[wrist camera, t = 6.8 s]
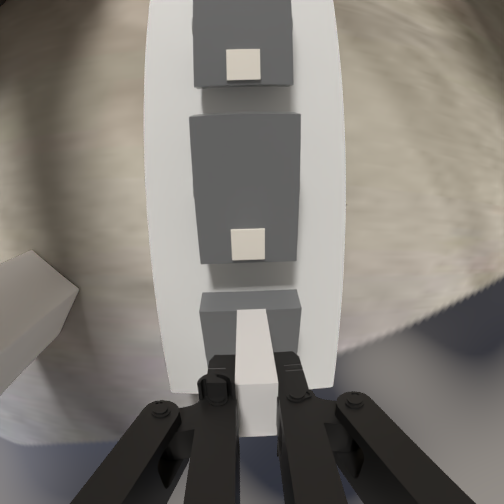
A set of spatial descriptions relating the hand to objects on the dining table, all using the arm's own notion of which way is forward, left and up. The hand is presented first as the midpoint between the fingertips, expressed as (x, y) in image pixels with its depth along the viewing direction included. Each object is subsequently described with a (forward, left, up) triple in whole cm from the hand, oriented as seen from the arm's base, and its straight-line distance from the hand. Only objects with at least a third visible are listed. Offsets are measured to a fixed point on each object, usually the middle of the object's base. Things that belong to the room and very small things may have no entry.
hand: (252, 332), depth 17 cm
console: (-8, 0, -13) cm, 15 cm away
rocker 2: (+3, 0, -5) cm, 6 cm away
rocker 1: (-19, 0, -5) cm, 19 cm away
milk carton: (+2, -22, -13) cm, 26 cm away
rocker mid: (-8, 0, -5) cm, 9 cm away
